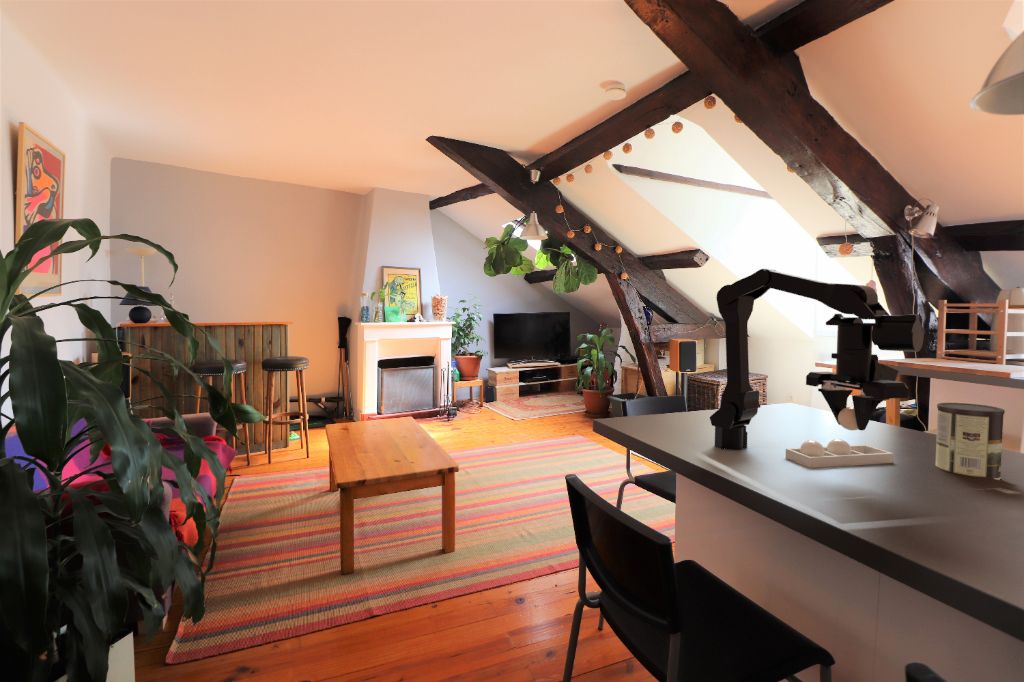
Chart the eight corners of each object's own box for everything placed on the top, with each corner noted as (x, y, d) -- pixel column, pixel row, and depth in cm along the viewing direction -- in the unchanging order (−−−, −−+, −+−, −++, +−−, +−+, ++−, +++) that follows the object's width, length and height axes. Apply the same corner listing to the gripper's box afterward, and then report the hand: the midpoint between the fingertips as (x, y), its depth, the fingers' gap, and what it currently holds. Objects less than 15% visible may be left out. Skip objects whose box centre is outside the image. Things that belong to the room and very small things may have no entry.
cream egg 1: (810, 465, 107) (811, 443, 107) (794, 458, 112) (795, 438, 111) (829, 464, 108) (830, 442, 108) (813, 457, 112) (814, 437, 112)
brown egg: (850, 433, 98) (851, 409, 97) (831, 428, 102) (832, 405, 102) (871, 432, 98) (872, 408, 98) (851, 427, 103) (852, 404, 103)
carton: (809, 471, 106) (809, 457, 105) (785, 461, 113) (785, 448, 113) (893, 467, 109) (893, 453, 109) (864, 457, 116) (865, 444, 116)
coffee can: (977, 468, 109) (981, 403, 108) (1014, 484, 98) (1019, 412, 98) (922, 465, 111) (926, 401, 110) (953, 480, 101) (957, 410, 100)
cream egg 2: (837, 463, 108) (838, 442, 108) (821, 457, 113) (821, 437, 112) (856, 462, 109) (857, 441, 109) (839, 456, 113) (840, 436, 113)
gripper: (935, 351, 92) (932, 436, 92) (850, 345, 110) (848, 416, 111) (882, 352, 90) (879, 439, 91) (805, 346, 108) (802, 418, 109)
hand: (851, 427), depth 100 cm, fingers closed on brown egg, 4 cm apart
